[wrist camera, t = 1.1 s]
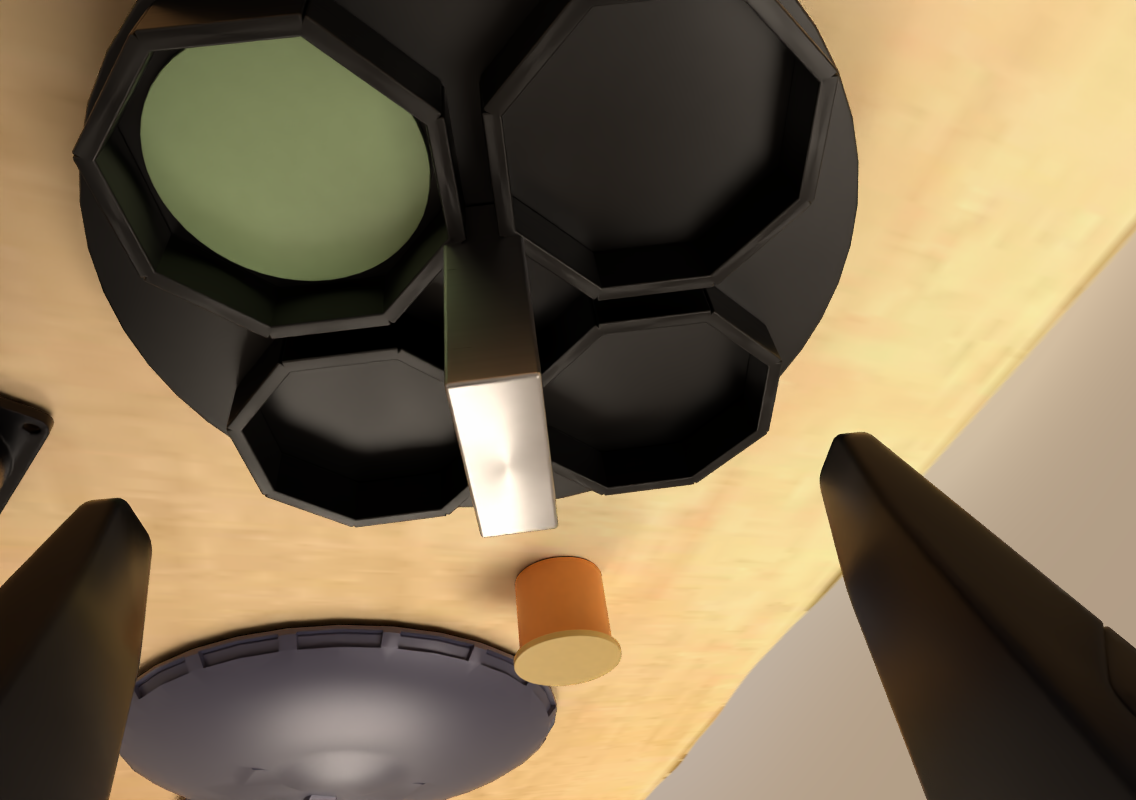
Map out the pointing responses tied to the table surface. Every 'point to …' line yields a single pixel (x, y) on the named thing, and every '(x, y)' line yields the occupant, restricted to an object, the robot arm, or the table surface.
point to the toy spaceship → (334, 716)
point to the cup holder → (470, 237)
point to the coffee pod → (563, 623)
